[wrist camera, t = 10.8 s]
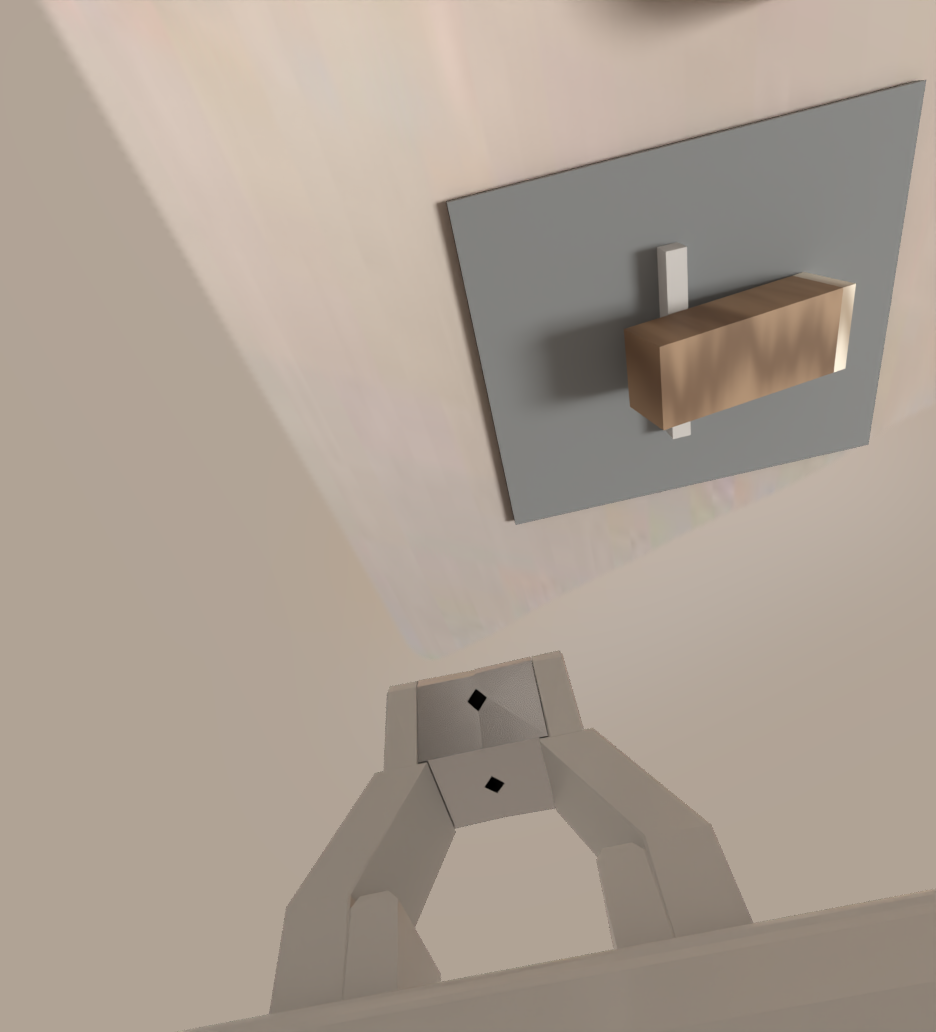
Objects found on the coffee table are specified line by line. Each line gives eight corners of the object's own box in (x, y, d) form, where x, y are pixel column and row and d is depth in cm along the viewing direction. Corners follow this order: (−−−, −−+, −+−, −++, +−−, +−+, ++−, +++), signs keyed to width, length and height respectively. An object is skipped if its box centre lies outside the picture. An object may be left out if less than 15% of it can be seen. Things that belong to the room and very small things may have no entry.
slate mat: (446, 201, 34) (448, 206, 33) (918, 80, 33) (946, 78, 31) (514, 520, 46) (518, 536, 45) (863, 440, 45) (881, 454, 43)
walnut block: (659, 347, 33) (855, 283, 34) (623, 329, 36) (804, 271, 38) (663, 430, 36) (845, 368, 37) (629, 406, 39) (797, 350, 40)
